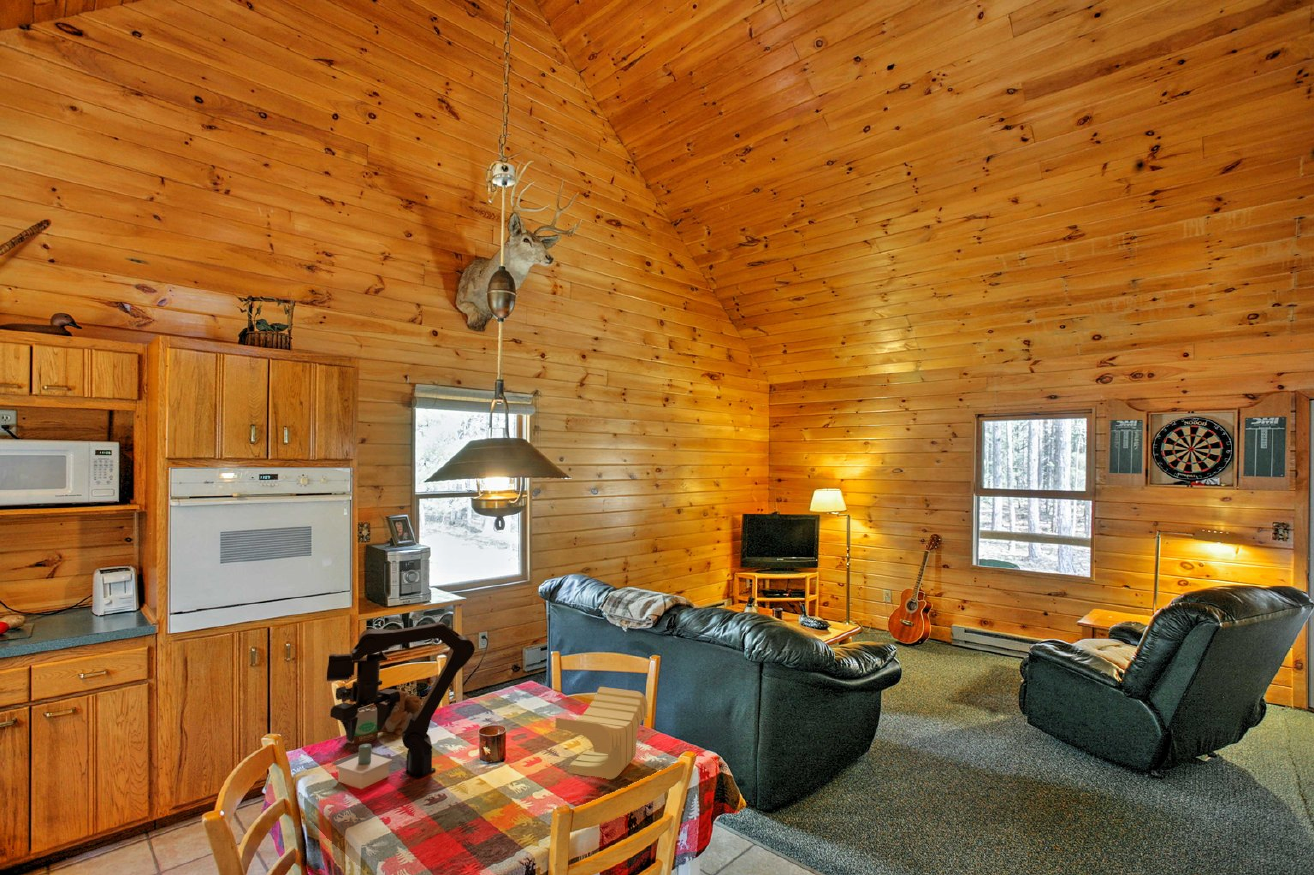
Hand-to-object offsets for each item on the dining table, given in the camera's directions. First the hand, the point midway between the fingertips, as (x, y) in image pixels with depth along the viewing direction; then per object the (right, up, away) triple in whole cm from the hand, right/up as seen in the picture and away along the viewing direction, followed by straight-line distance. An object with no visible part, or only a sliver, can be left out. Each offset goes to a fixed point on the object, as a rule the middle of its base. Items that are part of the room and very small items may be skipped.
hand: (365, 736), depth 186 cm
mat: (-6, -13, +11) cm, 18 cm away
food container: (-11, -14, +26) cm, 31 cm away
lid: (0, -8, 0) cm, 8 cm away
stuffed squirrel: (-5, -14, +38) cm, 41 cm away
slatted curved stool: (+64, -14, +10) cm, 66 cm away
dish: (0, -12, -1) cm, 12 cm away
